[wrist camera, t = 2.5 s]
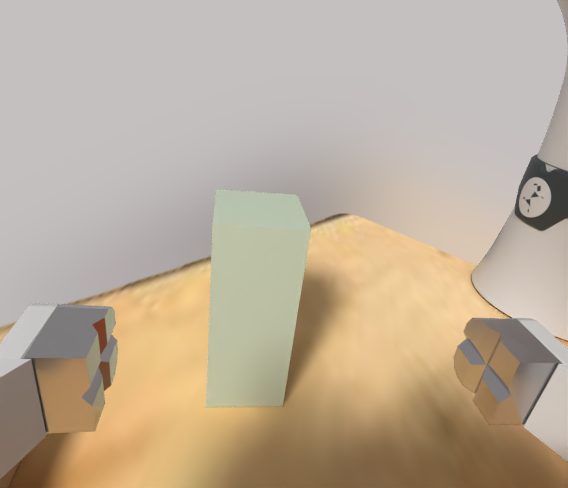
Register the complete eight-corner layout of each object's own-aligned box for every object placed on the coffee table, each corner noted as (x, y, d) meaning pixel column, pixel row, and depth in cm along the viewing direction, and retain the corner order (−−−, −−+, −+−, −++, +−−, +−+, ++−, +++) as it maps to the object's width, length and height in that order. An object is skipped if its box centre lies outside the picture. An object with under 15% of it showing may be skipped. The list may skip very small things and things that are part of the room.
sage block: (275, 353, 31) (297, 194, 25) (282, 406, 27) (311, 229, 21) (209, 352, 30) (216, 189, 24) (205, 407, 26) (212, 223, 20)
